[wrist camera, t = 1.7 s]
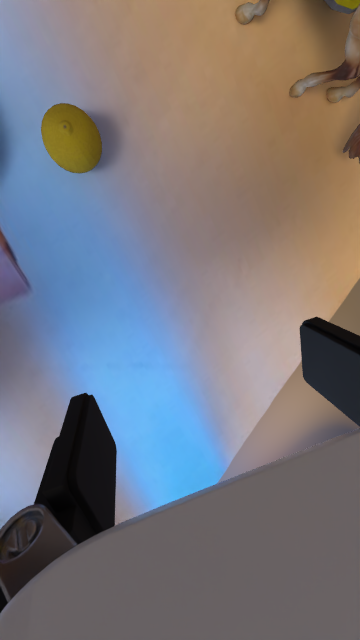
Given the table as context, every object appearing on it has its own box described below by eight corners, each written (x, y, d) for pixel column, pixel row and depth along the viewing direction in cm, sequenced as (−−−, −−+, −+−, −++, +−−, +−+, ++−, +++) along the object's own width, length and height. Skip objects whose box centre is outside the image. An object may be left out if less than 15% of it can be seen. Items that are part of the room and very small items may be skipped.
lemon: (54, 117, 28) (29, 76, 20) (106, 131, 29) (101, 99, 22) (52, 172, 29) (29, 154, 22) (101, 184, 31) (95, 170, 24)
